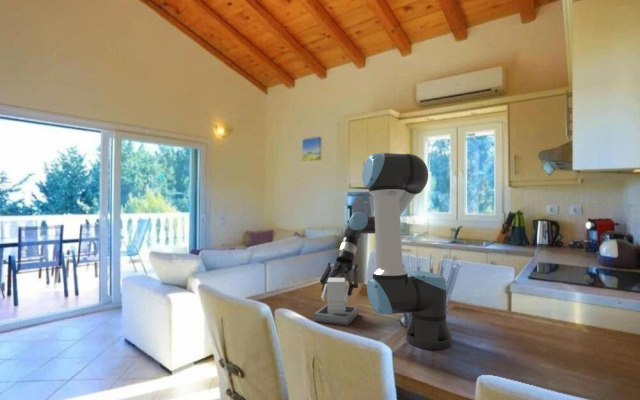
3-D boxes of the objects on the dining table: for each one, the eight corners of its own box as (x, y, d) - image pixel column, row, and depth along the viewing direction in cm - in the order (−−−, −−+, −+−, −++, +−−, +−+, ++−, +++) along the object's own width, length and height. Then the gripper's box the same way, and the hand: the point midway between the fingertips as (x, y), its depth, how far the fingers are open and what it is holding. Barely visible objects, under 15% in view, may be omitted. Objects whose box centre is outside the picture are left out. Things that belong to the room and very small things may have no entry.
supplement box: (345, 307, 145) (345, 277, 145) (345, 313, 137) (345, 281, 137) (328, 306, 146) (328, 277, 145) (327, 312, 138) (326, 281, 138)
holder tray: (358, 314, 145) (358, 307, 145) (347, 325, 132) (347, 318, 132) (327, 310, 150) (327, 303, 150) (314, 320, 138) (314, 313, 138)
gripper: (371, 261, 151) (361, 308, 137) (326, 258, 160) (312, 302, 145) (368, 251, 146) (357, 299, 132) (321, 248, 155) (306, 292, 140)
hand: (333, 300), depth 138 cm, fingers closed on supplement box, 9 cm apart
